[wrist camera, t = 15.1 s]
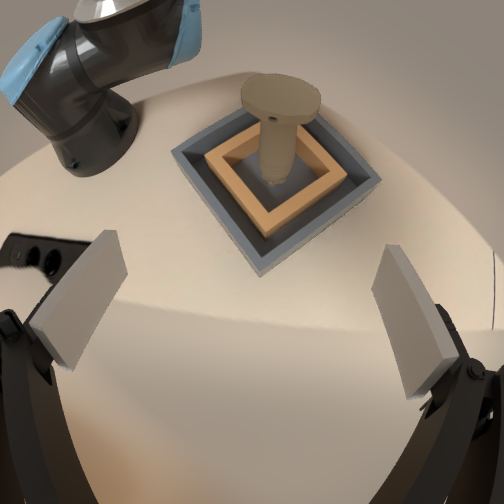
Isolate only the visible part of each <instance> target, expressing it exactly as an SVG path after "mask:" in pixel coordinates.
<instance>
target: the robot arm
mask: <svg viewBox="0 0 504 504" xmlns="http://www.w3.org/2000/svg"><path fill="white" fill-rule="evenodd" d="M199 8H200V4H199V0H80V1H79V3H78V5H77V8H76V10H75V12H74V17H75V20H74V21H73V22H69V19H68V18H66V17H64V16H59V17H58V18H55V19H53V20H52V21H50V22H48V23H47V24H46V25H45V26H43V27H42V28H41V29H40V30H38V31H37V32H36V33H35V34H34V35H33V36H32V37H31V38H30V39H29V40H28V41H27V42H26V43H25V44H24V45H23V46H22V47H21V48H20V50H19V51H18V52H17V53H16V54H15V56H14V57H13V58H12V59H11V61H10V62H9V64H8V65H7V67H6V69H5V70H4V72H3V74H2V76H1V79H0V90H1V92H2V93H3V94H4V95H5V96H6V98H7V99H8V100H9V101H10V104H11V105H12V106H14V107H15V108H16V109H17V110H18V111H19V112H20V113H21V114H22V115H23V116H24V117H25V118H26V119H27V120H28V121H30V122H31V123H32V124H33V125H34V126H35V127H36V128H37V129H38V130H39V131H41V132H42V133H43V134H44V135H45V136H46V137H47V138H48V139H49V140H50V141H51V143H52V145H53V148H54V150H55V152H56V154H57V156H58V159H59V161H60V163H61V164H62V166H63V167H64V168H65V169H66V170H67V171H69V172H70V173H71V174H73V175H74V176H77V177H89V176H93V175H96V174H98V173H100V172H102V171H104V170H106V169H107V168H109V167H110V166H111V165H113V164H114V163H115V162H116V161H117V160H118V159H119V158H120V157H121V156H122V155H123V154H124V153H125V152H126V151H127V149H128V148H129V146H130V145H131V143H132V141H133V140H134V137H135V135H136V132H137V129H138V116H137V113H136V112H135V110H134V108H133V107H132V105H131V104H130V103H129V102H128V101H127V100H126V99H124V98H123V97H121V96H120V95H118V94H117V93H115V92H114V91H112V90H111V89H110V88H112V87H114V86H117V85H119V84H122V83H125V82H127V81H130V80H133V79H135V78H138V77H141V76H144V75H147V74H150V73H153V72H156V71H159V70H163V69H168V68H171V67H172V66H174V65H176V64H179V63H183V62H186V61H189V60H191V59H193V58H194V57H195V56H196V55H197V54H198V53H199V51H200V48H201V40H202V29H201V28H202V27H201V12H200V9H199ZM127 275H128V273H127V269H126V266H125V262H124V259H123V255H122V251H121V247H120V243H119V239H118V235H117V231H116V230H104V231H103V232H102V233H101V234H100V235H99V236H98V237H97V238H96V239H95V240H94V241H93V243H92V244H91V245H90V246H89V247H88V248H87V249H86V250H85V251H84V253H83V254H82V255H81V256H80V257H79V258H78V259H77V261H76V262H75V263H74V264H73V265H72V267H71V268H70V269H69V270H68V271H67V273H66V274H65V275H64V276H63V278H62V279H61V280H60V281H57V282H56V283H55V284H54V285H52V286H51V287H50V288H49V290H48V291H47V292H46V293H45V295H44V296H43V297H42V298H41V300H40V303H38V304H37V305H36V307H35V308H34V309H33V311H32V312H31V313H30V315H29V316H28V318H27V319H26V321H25V322H24V323H23V324H22V323H21V321H20V320H19V318H18V316H17V315H16V313H15V312H14V311H13V310H11V309H7V310H4V311H2V312H0V504H25V502H26V504H98V502H97V500H96V498H95V496H94V494H93V492H92V490H91V487H90V485H89V483H88V481H87V478H86V476H85V474H84V471H83V469H82V467H81V464H80V461H79V459H78V456H77V453H76V451H75V448H74V445H73V442H72V439H71V436H70V433H69V430H68V426H67V423H66V420H65V416H64V412H63V409H62V405H61V401H60V396H59V392H58V387H57V383H56V378H55V372H54V369H53V366H52V365H51V363H52V361H53V360H55V362H56V363H57V364H58V366H59V367H60V368H62V369H65V370H68V371H71V372H73V371H74V369H75V367H76V365H77V362H78V361H79V359H80V357H81V355H82V353H83V350H84V349H85V347H86V345H87V343H88V341H89V340H90V338H91V336H92V334H93V332H94V330H95V329H96V327H97V325H98V323H99V321H100V320H101V318H102V316H103V314H104V313H105V311H106V309H107V307H108V306H109V304H110V302H111V301H112V299H113V297H114V296H115V294H116V292H117V291H118V289H119V287H120V286H121V284H122V283H123V281H124V279H125V278H126V276H127ZM371 289H372V292H373V294H374V297H375V300H376V302H377V305H378V308H379V310H380V313H381V316H382V319H383V322H384V325H385V328H386V331H387V333H388V336H389V339H390V343H391V346H392V349H393V352H394V355H395V358H396V362H397V365H398V369H399V372H400V375H401V379H402V383H403V387H404V390H405V394H406V398H407V400H412V399H417V398H422V397H424V396H425V395H426V394H427V393H428V391H429V390H431V394H432V397H431V398H430V399H429V400H428V401H427V402H426V403H425V404H424V405H423V406H422V407H421V408H420V411H422V410H423V409H424V408H425V410H424V412H423V414H422V416H421V418H420V420H419V423H418V425H417V427H416V429H415V431H414V433H413V435H412V436H411V438H410V440H409V442H408V444H407V446H406V447H405V449H404V451H403V453H402V455H401V456H400V458H399V460H398V461H397V463H396V465H395V466H394V468H393V469H392V471H391V473H390V474H389V476H388V477H387V479H386V480H385V482H384V483H383V485H382V486H381V488H380V489H379V490H378V492H377V493H376V494H375V496H374V497H373V499H372V500H371V501H370V503H369V504H444V502H445V500H446V498H447V500H446V503H445V504H504V365H503V366H502V367H501V368H500V369H499V370H498V371H497V372H495V371H489V370H486V369H485V367H484V366H483V364H482V363H481V362H480V361H478V360H477V359H474V358H470V357H469V355H468V353H467V351H466V348H465V346H464V344H463V342H462V340H461V338H460V336H459V334H458V332H457V331H456V328H455V326H454V324H453V323H452V320H451V318H450V316H449V314H448V312H447V311H446V310H445V309H444V308H443V307H442V306H441V305H440V304H434V302H433V301H432V299H431V297H430V295H429V293H428V292H427V290H426V288H425V286H424V284H423V283H422V281H421V279H420V278H419V276H418V274H417V273H416V271H415V269H414V268H413V266H412V264H411V263H410V261H409V259H408V258H407V256H406V255H405V253H404V252H403V250H402V248H401V247H400V245H388V244H386V246H385V250H384V253H383V256H382V259H381V262H380V265H379V268H378V271H377V274H376V277H375V280H374V283H373V286H372V288H371ZM492 411H493V418H492V419H490V413H491V412H492ZM447 496H448V497H447ZM24 499H25V501H24Z"/></svg>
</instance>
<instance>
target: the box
mask: <svg viewBox="0 0 504 504" xmlns="http://www.w3.org/2000/svg"><path fill="white" fill-rule="evenodd" d="M260 121H261V120H260V119H259V118H257V117H255V116H254V115H252V114H251V113H249V112H248V111H247V110H245V109H244V107H243V108H241V109H239V110H237V111H236V112H234V113H232V114H230V115H228V116H227V117H225V118H223V119H221V120H220V121H218V122H216V123H214V124H213V125H211V126H209V127H208V128H206V129H204V130H203V131H201V132H199V133H198V134H196V135H194V136H193V137H191V138H190V139H188V140H186V141H185V142H183V143H182V144H180V145H179V146H177V147H176V148H174V149H173V150H171V153H172V155H173V157H174V159H175V160H176V162H177V164H178V166H179V168H180V170H181V171H182V172H183V174H184V175H185V177H186V178H187V179H188V181H189V182H190V183H191V185H192V186H193V188H194V189H195V190H196V192H197V193H198V194H199V196H200V197H201V199H202V200H203V201H204V203H205V204H206V205H207V207H208V208H209V210H210V211H211V212H212V214H213V215H214V216H215V218H216V219H217V220H218V222H219V223H220V225H221V226H222V227H223V229H224V230H225V231H226V233H227V234H228V235H229V237H230V238H231V239H232V241H233V242H234V244H235V245H236V246H237V248H238V249H239V250H240V252H241V253H242V254H243V256H244V257H245V258H246V260H247V261H248V263H249V264H250V265H251V267H252V268H253V269H254V271H255V272H256V273H257V275H258V276H259V277H262V276H263V275H264V274H266V273H267V272H268V271H270V270H271V269H273V268H274V267H275V266H277V265H278V264H279V263H281V262H282V261H283V260H285V259H286V258H287V257H289V256H290V255H291V254H293V253H294V252H295V251H297V250H298V249H299V248H301V247H302V246H303V245H305V244H306V243H307V242H309V241H310V240H311V239H313V238H314V237H315V236H317V235H318V234H319V233H321V232H322V231H323V230H325V229H326V228H327V227H329V226H330V225H331V224H332V223H334V222H335V221H336V220H338V219H339V218H340V217H342V216H343V215H344V214H345V213H347V212H348V211H349V210H351V209H352V208H353V207H354V206H356V205H357V204H358V203H360V202H361V201H362V200H363V199H365V198H366V197H367V196H368V195H369V194H370V193H371V192H372V191H373V189H374V188H375V187H376V186H377V185H378V184H379V182H380V181H381V180H382V179H381V178H380V177H379V176H378V175H377V173H376V172H375V171H374V170H373V169H372V168H371V167H370V165H369V164H368V163H367V162H366V161H365V160H364V159H363V158H362V157H361V156H360V155H359V154H358V152H357V151H356V150H355V149H354V148H353V147H352V146H351V145H350V144H349V143H348V142H347V141H346V140H345V139H344V138H343V137H342V136H341V135H340V134H339V133H338V132H337V131H336V130H335V129H334V128H333V127H332V126H331V125H330V124H329V123H328V122H327V121H325V120H324V119H323V118H322V117H321V116H320V115H319V114H318V113H317V115H316V117H315V118H314V119H313V120H312V121H311V122H309V123H307V124H300V125H297V135H296V149H295V158H294V163H293V166H292V169H291V171H290V173H289V175H288V176H287V178H286V179H287V180H286V182H285V183H284V184H283V185H282V184H278V185H275V186H274V187H271V186H269V184H268V183H267V181H265V180H263V179H262V176H261V170H260V167H259V161H258V146H259V136H260Z"/></svg>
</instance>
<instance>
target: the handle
mask: <svg viewBox="0 0 504 504" xmlns="http://www.w3.org/2000/svg"><path fill="white" fill-rule="evenodd" d="M241 99H242V104H243V107H244V109H245V110H247V111H248V112H249V113H251V114H252V115H254V116H255V117H257V118H259V119H260V120H261V121H260V136H259V146H258V161H259V167H260V170H261V176H262V179H263V180H265V181H267V183H268V184H269V186H271V187H274V186H275V185H278V184H282V185H283V184H284V183H285V182H286V180H287V179H286V178H287V176H288V175H289V173H290V171H291V169H292V166H293V163H294V158H295V149H296V135H297V125H300V124H307V123H309V122H311V121H312V120H313V119H314V118H315V117H316V115H317V113H318V110H319V107H320V103H321V95H320V92H319V91H318V89H317V88H315V87H314V86H312V85H310V84H309V83H307V82H305V81H303V80H301V79H298V78H295V77H291V76H286V75H281V74H262V75H254V76H252V77H251V78H249V79H248V80H247V81H246V82H245V83H244V85H243V87H242V89H241Z"/></svg>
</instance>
